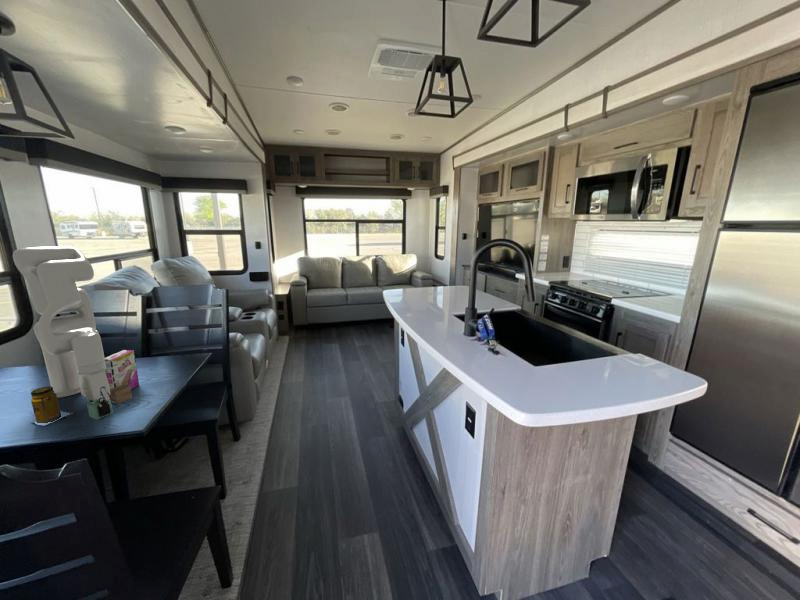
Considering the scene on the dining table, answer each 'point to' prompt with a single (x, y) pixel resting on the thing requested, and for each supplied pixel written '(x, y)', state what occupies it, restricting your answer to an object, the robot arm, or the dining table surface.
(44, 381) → the dining table surface
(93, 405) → the green cube
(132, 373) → the candy bar box
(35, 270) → the robot arm
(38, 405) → the condiment
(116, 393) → the walnut block
